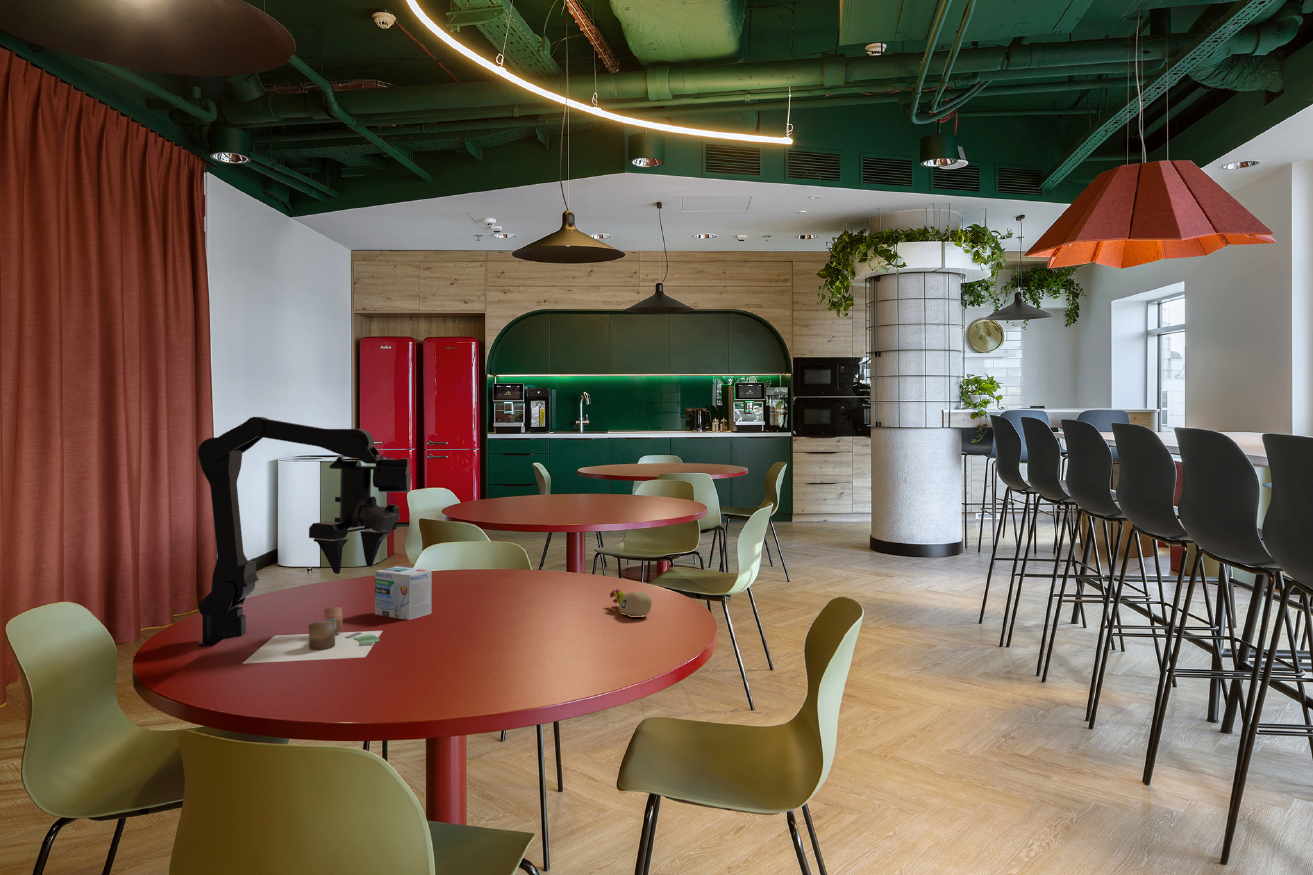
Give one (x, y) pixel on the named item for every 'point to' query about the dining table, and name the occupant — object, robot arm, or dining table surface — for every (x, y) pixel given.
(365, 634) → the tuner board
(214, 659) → the dining table surface
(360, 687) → the dining table surface
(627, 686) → the dining table surface
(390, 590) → the light bulb box
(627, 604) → the toy
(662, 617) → the dining table surface
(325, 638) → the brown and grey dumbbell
